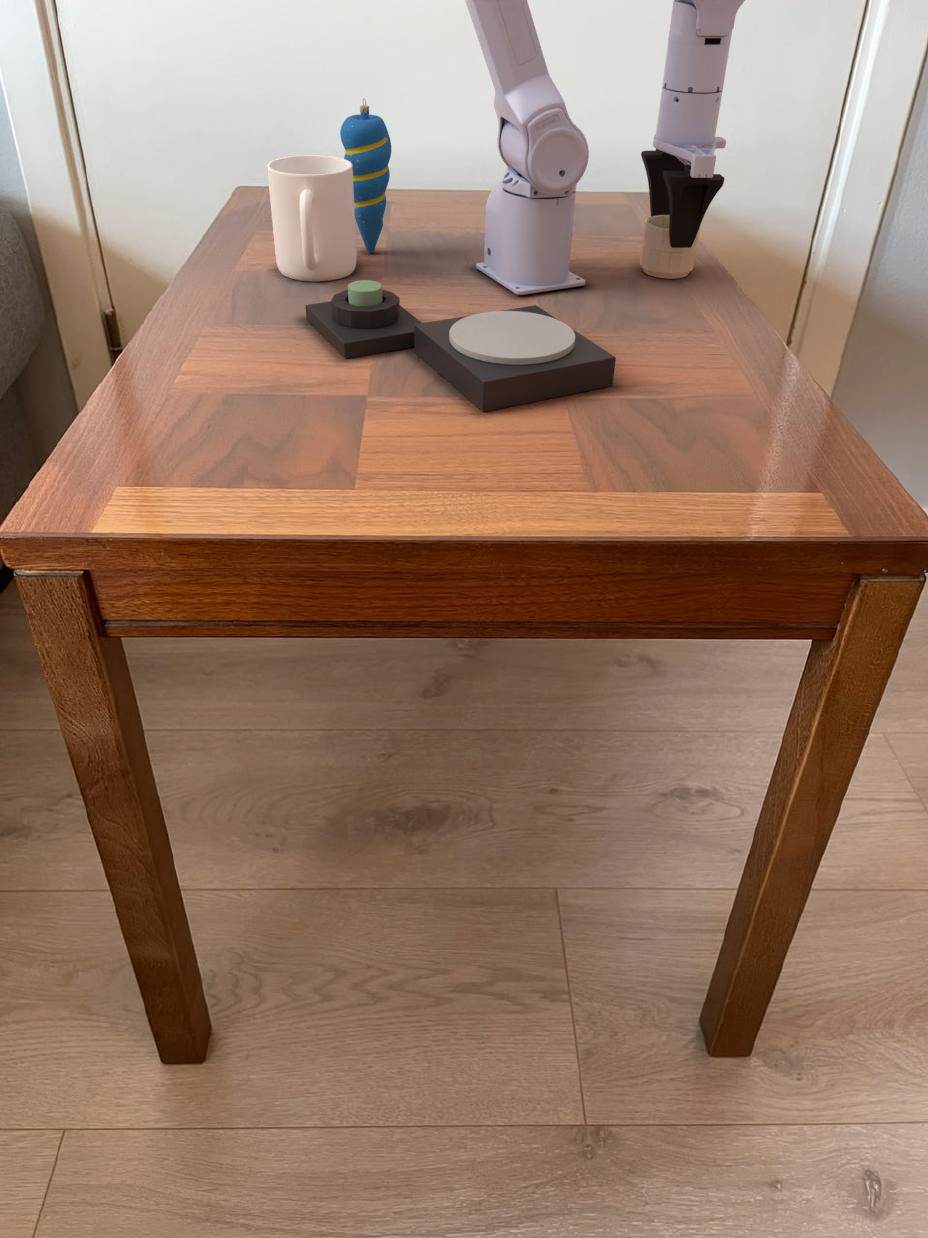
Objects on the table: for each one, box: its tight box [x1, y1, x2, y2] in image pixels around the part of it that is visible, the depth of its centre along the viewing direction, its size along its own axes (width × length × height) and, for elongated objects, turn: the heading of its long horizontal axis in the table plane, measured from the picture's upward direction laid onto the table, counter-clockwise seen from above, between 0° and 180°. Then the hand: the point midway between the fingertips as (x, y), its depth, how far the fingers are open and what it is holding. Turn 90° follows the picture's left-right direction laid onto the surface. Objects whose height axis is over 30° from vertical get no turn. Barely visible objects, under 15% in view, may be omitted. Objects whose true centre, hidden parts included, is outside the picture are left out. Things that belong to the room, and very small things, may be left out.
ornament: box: [339, 98, 392, 254], centre depth 102 cm, size 5×5×15 cm
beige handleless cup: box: [639, 215, 702, 280], centre depth 102 cm, size 6×6×5 cm
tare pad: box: [305, 289, 422, 359], centre depth 87 cm, size 10×8×3 cm
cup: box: [266, 154, 357, 282], centre depth 97 cm, size 8×12×10 cm
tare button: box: [347, 279, 383, 306], centre depth 86 cm, size 3×3×2 cm
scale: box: [413, 304, 617, 413], centre depth 81 cm, size 13×12×3 cm
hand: (671, 235), depth 101 cm, fingers open, 7 cm apart
